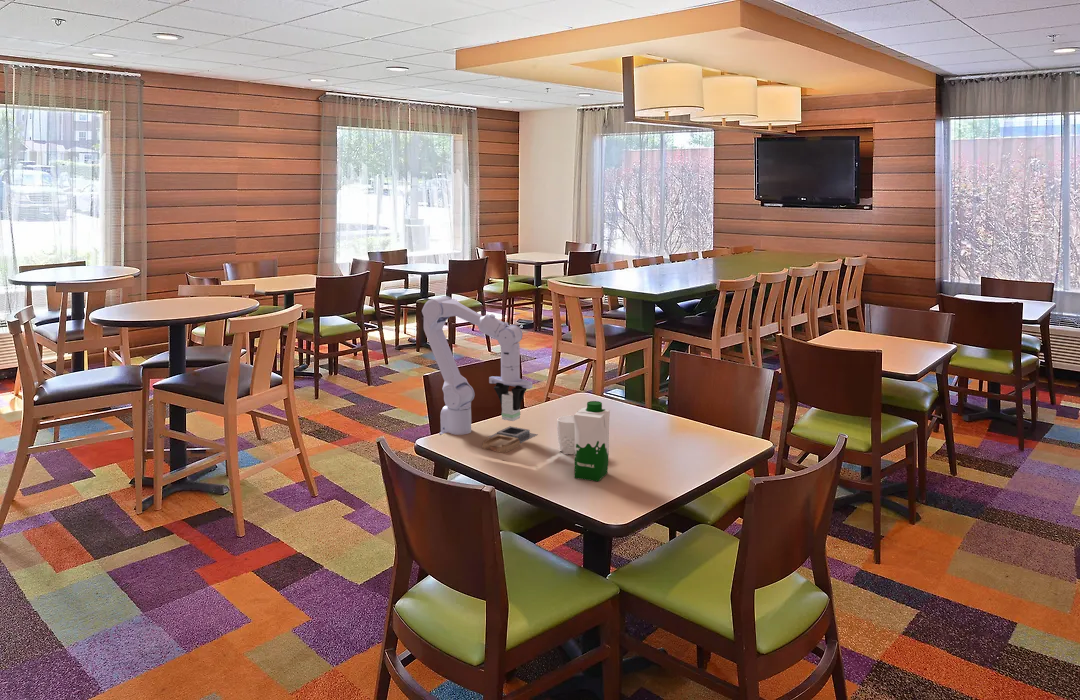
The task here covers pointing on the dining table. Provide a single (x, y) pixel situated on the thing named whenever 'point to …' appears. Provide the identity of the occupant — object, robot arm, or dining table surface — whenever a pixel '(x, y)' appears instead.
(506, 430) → the stand base
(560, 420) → the white cup
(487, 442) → the tray
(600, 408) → the milk carton
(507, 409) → the column
